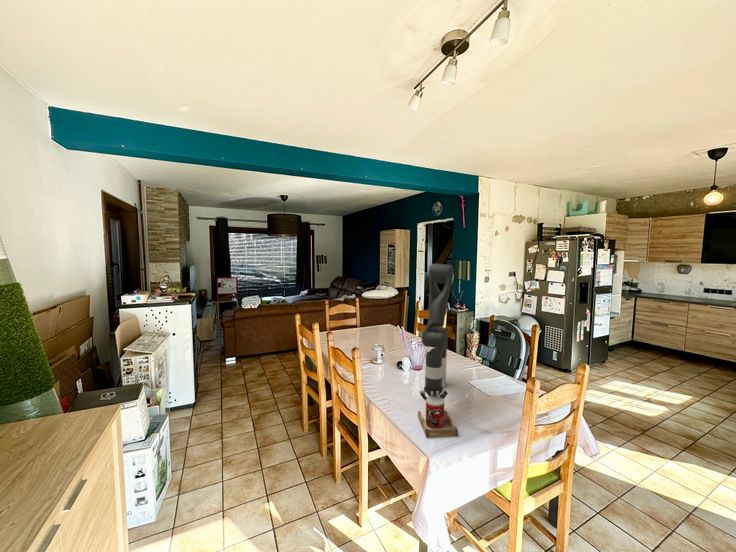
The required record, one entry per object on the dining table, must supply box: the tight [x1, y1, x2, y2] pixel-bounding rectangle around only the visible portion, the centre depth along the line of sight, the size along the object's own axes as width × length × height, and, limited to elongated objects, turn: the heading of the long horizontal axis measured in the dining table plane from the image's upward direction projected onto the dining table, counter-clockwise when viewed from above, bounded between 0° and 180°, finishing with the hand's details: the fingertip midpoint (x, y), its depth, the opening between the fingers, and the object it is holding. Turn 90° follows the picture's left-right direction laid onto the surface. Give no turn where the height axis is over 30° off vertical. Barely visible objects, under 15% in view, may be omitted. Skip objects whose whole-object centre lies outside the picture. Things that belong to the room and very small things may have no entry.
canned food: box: [425, 396, 445, 429], centre depth 134 cm, size 8×8×11 cm
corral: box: [417, 409, 459, 439], centre depth 133 cm, size 15×13×3 cm
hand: (433, 411), depth 140 cm, fingers closed
